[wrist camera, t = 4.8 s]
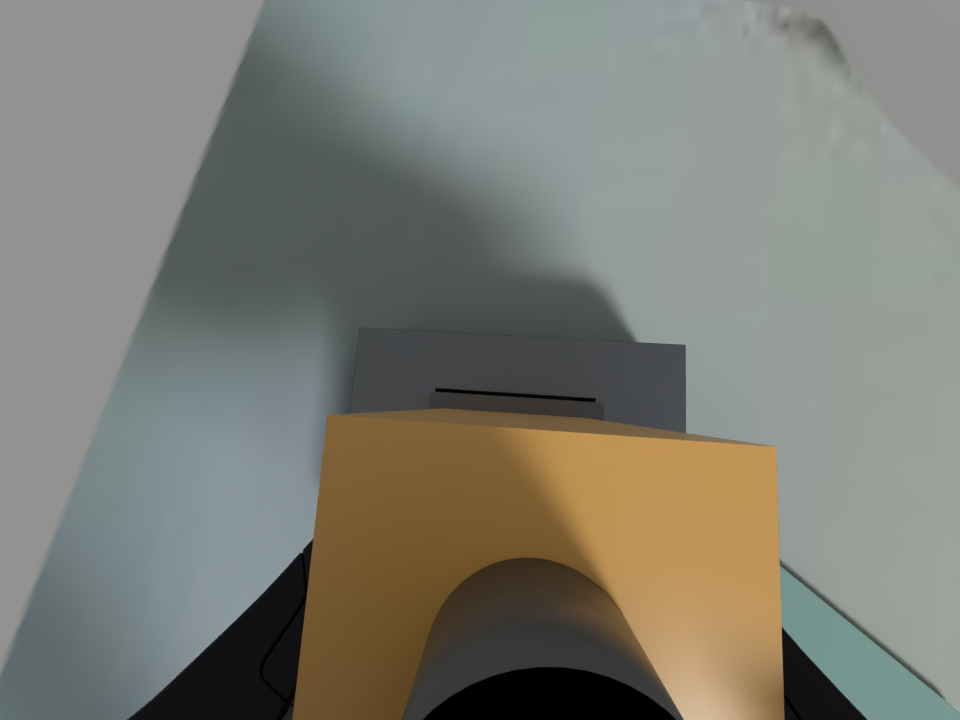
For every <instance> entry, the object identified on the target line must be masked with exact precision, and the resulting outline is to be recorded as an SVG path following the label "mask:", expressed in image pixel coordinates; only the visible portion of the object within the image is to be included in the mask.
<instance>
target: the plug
mask: <svg viewBox="0 0 960 720" xmlns="http://www.w3.org/2000/svg"><path fill="white" fill-rule="evenodd" d="M292 720H785V718H784V687H783V655H782V623H781V592H780V560H779V529H778V497H777V465H776V447H774V446H767V445H761V444H754V443H748V442H741V441H735V440H728V439H721V438H715V437H708V436H702V435H695V434H688V433H682V432H675V431H669V430H662V429H655V428H649V427H642V426H636V425H629V424H622V423H616V422H609V421H604V403H599V402H584V401H569V400H553V399H538V398H523V397H507V396H492V395H477V394H462V393H446V392H431V394H430V407H429V409H425V410H407V411H388V412H370V413H352V414H333V415H328V418H327V427H326V435H325V444H324V453H323V461H322V470H321V478H320V487H319V496H318V504H317V513H316V521H315V530H314V539H313V547H312V556H311V564H310V573H309V582H308V590H307V599H306V607H305V616H304V624H303V633H302V642H301V650H300V659H299V667H298V676H297V685H296V693H295V702H294V710H293V719H292Z"/></svg>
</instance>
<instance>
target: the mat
mask: <svg viewBox="0 0 960 720" xmlns="http://www.w3.org/2000/svg"><path fill="white" fill-rule="evenodd" d="M780 592H781V623H782V627H783V628H784V629H785V631H786V632H787V633H788V634H789V635H790V636H791V638H792V639H793V640H794V641H795V642H796V643H797V644H798V646H799V647H800V648H801V649H802V650H803V651H804V652H805V654H806V655H807V656H808V657H809V658H810V659H811V660H812V661H813V662H814V663H815V664H816V665H817V666H818V668H819V669H820V670H821V671H822V672H823V673H824V674H825V675H826V676H827V677H828V678H829V679H830V680H831V682H832V683H833V684H834V685H835V686H836V687H837V688H838V689H839V690H840V691H841V692H842V693H843V694H844V695H845V696H846V698H847V699H848V700H849V701H850V702H851V703H852V704H853V705H854V706H855V707H856V708H857V709H858V710H859V711H860V712H861V713H862V714H863V715H864V716H865V717H866V718H867V720H960V712H958V711H957V710H956V709H955V708H954V707H952V706H951V705H950V704H949V703H947V702H946V701H945V700H944V699H943V698H941V697H940V696H939V695H938V694H936V693H935V692H934V691H933V690H932V689H930V688H929V687H928V686H927V685H925V684H924V683H923V682H922V681H921V680H919V679H918V678H917V677H916V676H914V675H913V674H912V673H911V672H910V671H908V670H907V669H906V668H905V667H903V666H902V665H901V664H900V663H899V662H897V661H896V660H895V659H894V658H892V657H891V656H890V655H889V654H888V653H886V652H885V651H884V650H883V649H881V648H880V647H879V646H878V645H876V644H875V643H874V642H873V641H872V640H870V639H869V638H868V637H867V636H865V635H864V634H863V633H862V632H861V631H859V630H858V629H857V628H856V627H854V626H853V625H852V624H851V623H850V622H848V621H847V620H846V619H845V618H843V617H842V616H841V615H840V614H839V613H837V612H836V611H835V610H834V609H832V608H831V607H830V606H829V605H828V604H826V603H825V602H824V601H823V600H821V599H820V598H819V597H818V596H817V595H815V594H814V593H813V592H812V591H810V590H809V589H808V588H807V587H806V586H804V585H803V584H802V583H801V582H799V581H798V580H797V579H796V578H794V577H793V576H792V575H791V574H790V573H788V572H787V571H786V570H785V569H783V568H782V567H781V566H780Z"/></svg>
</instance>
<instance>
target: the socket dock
mask: <svg viewBox="0 0 960 720" xmlns="http://www.w3.org/2000/svg"><path fill="white" fill-rule="evenodd" d="M431 392H446V393H449V392H465V393H480V394H496V395H511V396H527V397H542V398H558V399H573V400H576V401H584V402H599V403H604V421H609V422H616V423H622V424H629V425H636V426H642V427H649V428H655V429H662V430H669V431H675V432H682V433H686V345H677V344H658V343H639V342H620V341H602V340H583V339H564V338H545V337H527V336H508V335H489V334H471V333H452V332H433V331H414V330H396V329H377V328H359V334H358V343H357V352H356V362H355V371H354V380H353V389H352V398H351V408H350V414H352V413H370V412H388V411H407V410H425V409H429V407H430V394H431Z"/></svg>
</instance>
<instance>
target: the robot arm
mask: <svg viewBox="0 0 960 720" xmlns="http://www.w3.org/2000/svg"><path fill="white" fill-rule="evenodd" d="M313 539H314V538H313ZM313 539H312V541H311V542H310V543H309V544H308V545H307V546H306V547H305V548H304V549H303V553H300V554H299V555H298V556H297V557H296V558H295V559H294V560H293V562H292V563H291V564H290V565H289V566H288V567H287V568H286V569H285V570H284V572H283V573H282V574H281V575H280V576H279V577H278V578H277V579H276V580H275V581H274V582H273V583H272V584H271V585H270V587H269V588H268V589H267V590H266V591H265V592H264V593H263V594H262V595H261V596H260V597H259V598H258V599H257V600H256V601H255V602H254V603H253V604H252V605H251V606H250V607H249V608H248V609H247V610H246V611H245V612H244V613H243V614H242V615H241V616H240V617H239V618H238V619H237V620H236V621H235V622H233V623H232V624H231V625H230V626H229V627H228V628H227V629H226V630H225V631H224V632H223V633H222V634H221V635H220V636H219V637H218V638H217V639H216V640H215V641H214V642H213V643H211V644H210V645H209V646H208V647H207V648H206V649H205V650H204V651H203V652H202V653H201V654H200V655H199V656H198V657H197V658H196V659H195V660H194V661H193V662H192V663H190V664H189V665H188V666H187V667H186V668H185V669H184V670H183V671H182V672H181V673H180V674H179V675H178V676H177V677H176V678H175V679H174V680H173V681H172V682H171V683H169V684H168V685H167V686H166V687H165V688H164V689H163V690H162V691H161V692H160V693H159V694H158V695H157V696H155V697H154V698H153V699H152V700H151V701H150V702H148V703H147V704H146V705H145V706H144V707H143V708H141V709H140V710H139V711H138V712H136V713H135V714H134V715H132V716H131V717H130V718H129V719H127V720H292V719H293V710H294V702H295V693H296V685H297V676H298V667H299V659H300V650H301V642H302V633H303V624H304V616H305V607H306V599H307V590H308V582H309V573H310V564H311V556H312V547H313ZM782 655H783V687H784V718H785V720H867V718H866V717H865V716H864V715H863V714H862V713H861V712H860V711H859V710H858V709H857V708H856V707H855V706H854V705H853V704H852V703H851V702H850V701H849V700H848V699H847V698H846V696H845V695H844V694H843V693H842V692H841V691H840V690H839V689H838V688H837V687H836V686H835V685H834V684H833V683H832V682H831V680H830V679H829V678H828V677H827V676H826V675H825V674H824V673H823V672H822V671H821V670H820V669H819V668H818V666H817V665H816V664H815V663H814V662H813V661H812V660H811V659H810V658H809V657H808V656H807V655H806V654H805V652H804V651H803V650H802V649H801V648H800V647H799V646H798V644H797V643H796V642H795V641H794V640H793V639H792V638H791V636H790V635H789V634H788V633H787V632H786V631H785V629H784V628H783V627H782Z"/></svg>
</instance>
